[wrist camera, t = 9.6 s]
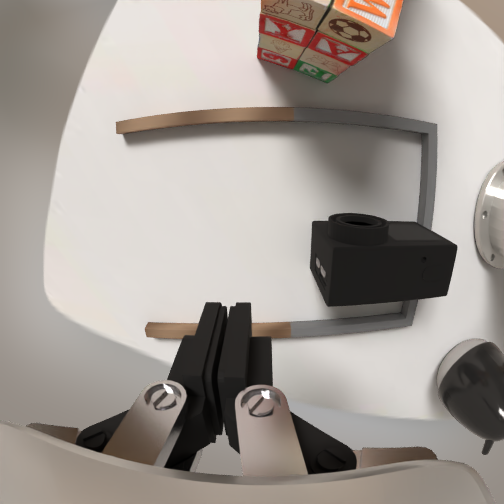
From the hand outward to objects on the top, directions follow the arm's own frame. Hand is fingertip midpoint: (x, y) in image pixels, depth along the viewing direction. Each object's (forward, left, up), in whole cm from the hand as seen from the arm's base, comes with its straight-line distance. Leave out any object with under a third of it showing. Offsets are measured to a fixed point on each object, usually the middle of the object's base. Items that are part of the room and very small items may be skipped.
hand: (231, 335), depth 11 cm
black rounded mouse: (-28, +18, -15) cm, 37 cm away
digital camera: (-11, +1, -15) cm, 18 cm away
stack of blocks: (-8, -23, -15) cm, 29 cm away
